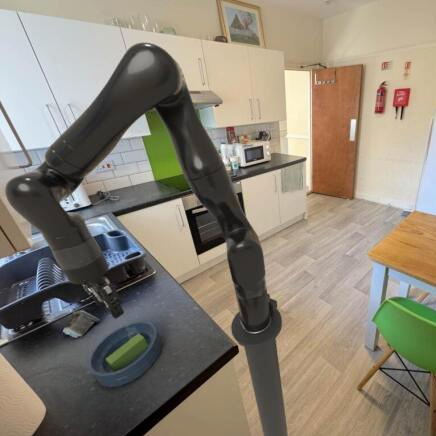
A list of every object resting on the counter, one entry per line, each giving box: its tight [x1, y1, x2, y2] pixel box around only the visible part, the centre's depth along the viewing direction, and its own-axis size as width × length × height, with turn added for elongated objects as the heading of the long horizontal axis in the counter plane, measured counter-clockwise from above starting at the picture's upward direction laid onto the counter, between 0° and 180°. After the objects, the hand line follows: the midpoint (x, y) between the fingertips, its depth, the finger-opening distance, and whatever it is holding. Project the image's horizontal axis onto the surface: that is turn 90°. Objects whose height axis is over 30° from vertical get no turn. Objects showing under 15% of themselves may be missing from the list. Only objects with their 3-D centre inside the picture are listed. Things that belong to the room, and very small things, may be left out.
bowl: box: [87, 320, 162, 388], centre depth 68 cm, size 16×16×6 cm
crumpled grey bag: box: [62, 309, 102, 339], centre depth 78 cm, size 10×7×12 cm
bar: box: [106, 333, 148, 372], centre depth 68 cm, size 9×3×4 cm, turn 149°
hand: (110, 309), depth 61 cm, fingers open, 8 cm apart
